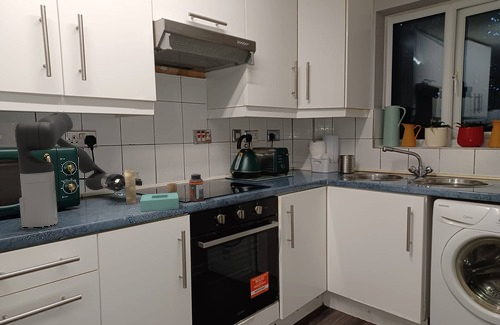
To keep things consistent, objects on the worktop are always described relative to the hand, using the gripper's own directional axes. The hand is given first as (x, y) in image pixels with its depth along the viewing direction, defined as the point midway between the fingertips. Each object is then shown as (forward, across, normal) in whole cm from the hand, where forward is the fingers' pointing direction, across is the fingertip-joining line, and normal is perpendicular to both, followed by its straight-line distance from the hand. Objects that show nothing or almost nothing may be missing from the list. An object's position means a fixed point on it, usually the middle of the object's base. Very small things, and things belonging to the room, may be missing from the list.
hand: (132, 184), depth 140 cm
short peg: (+8, +14, +8) cm, 18 cm away
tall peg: (-1, 0, +8) cm, 8 cm away
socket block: (+15, +3, +8) cm, 18 cm away
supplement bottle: (+18, +19, +8) cm, 28 cm away
